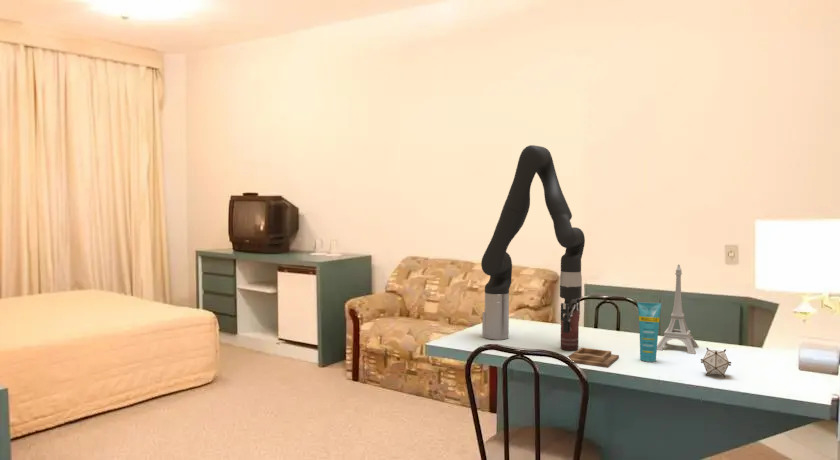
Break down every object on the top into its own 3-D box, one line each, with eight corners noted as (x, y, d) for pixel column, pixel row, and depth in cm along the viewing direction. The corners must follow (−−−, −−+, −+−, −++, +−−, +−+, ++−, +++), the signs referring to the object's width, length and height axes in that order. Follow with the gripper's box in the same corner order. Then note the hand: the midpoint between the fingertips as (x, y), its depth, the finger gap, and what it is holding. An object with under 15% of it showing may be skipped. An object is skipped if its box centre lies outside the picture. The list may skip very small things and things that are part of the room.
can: (579, 351, 220) (580, 311, 220) (560, 350, 221) (561, 310, 221) (578, 347, 226) (579, 308, 226) (560, 346, 227) (560, 308, 227)
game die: (707, 386, 192) (689, 356, 196) (733, 376, 192) (714, 346, 197) (716, 379, 184) (697, 348, 188) (743, 368, 184) (723, 337, 189)
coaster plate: (564, 361, 206) (564, 354, 206) (577, 352, 218) (577, 345, 218) (607, 367, 199) (607, 359, 199) (618, 358, 211) (618, 350, 211)
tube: (636, 361, 207) (637, 302, 206) (636, 357, 212) (637, 300, 211) (660, 363, 205) (661, 304, 204) (659, 359, 209) (661, 301, 209)
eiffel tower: (659, 342, 235) (661, 262, 234) (698, 346, 229) (700, 264, 227) (654, 350, 223) (656, 265, 222) (695, 354, 217) (697, 267, 216)
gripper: (566, 281, 231) (566, 326, 231) (553, 285, 219) (553, 332, 219) (587, 282, 227) (586, 328, 228) (574, 287, 215) (574, 335, 215)
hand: (570, 330), depth 223 cm, fingers open, 8 cm apart
